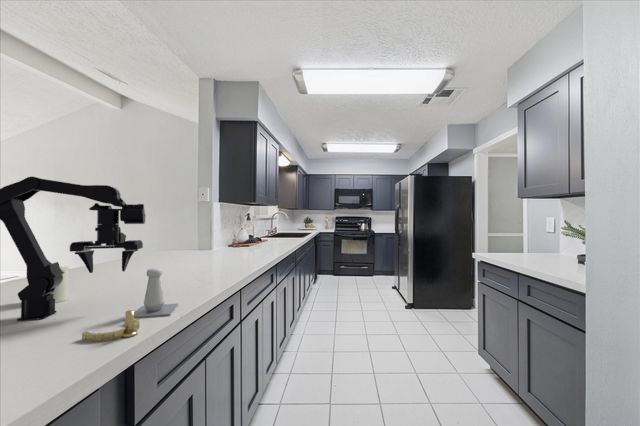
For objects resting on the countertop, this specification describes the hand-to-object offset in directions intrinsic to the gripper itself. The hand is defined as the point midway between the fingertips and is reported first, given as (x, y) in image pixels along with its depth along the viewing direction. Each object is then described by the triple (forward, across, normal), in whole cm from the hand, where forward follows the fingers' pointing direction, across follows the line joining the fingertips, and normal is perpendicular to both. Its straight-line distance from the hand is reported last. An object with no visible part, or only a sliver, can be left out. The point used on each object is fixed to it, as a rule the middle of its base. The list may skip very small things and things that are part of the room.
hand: (107, 272), depth 93 cm
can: (+12, +24, -16) cm, 31 cm away
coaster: (+12, -16, +7) cm, 21 cm away
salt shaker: (+12, -16, +7) cm, 21 cm away
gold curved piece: (+12, -13, +24) cm, 29 cm away
